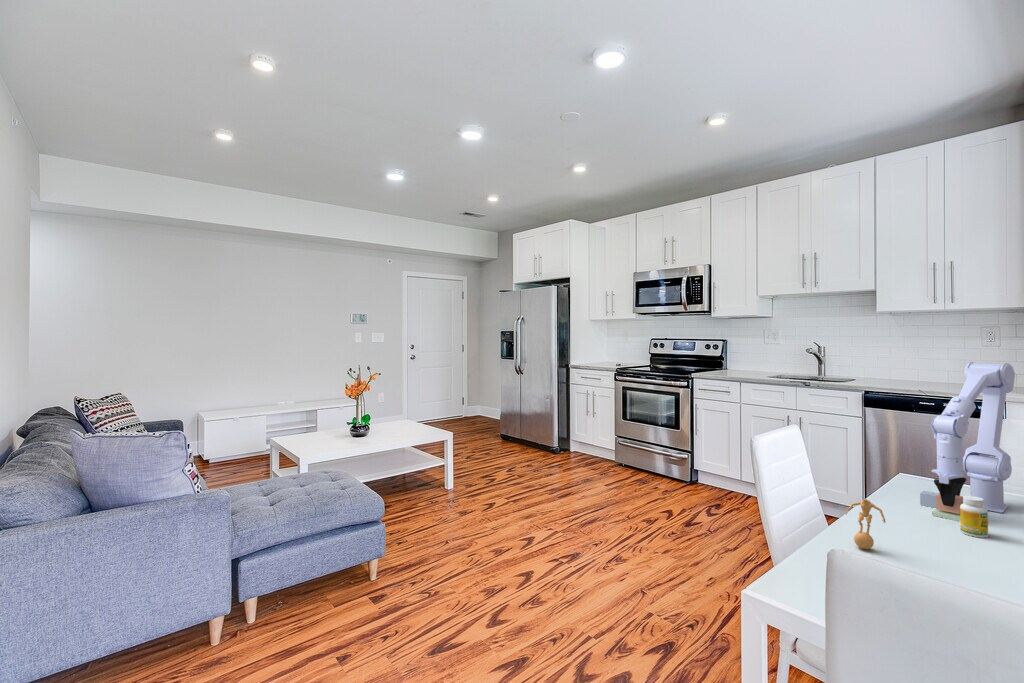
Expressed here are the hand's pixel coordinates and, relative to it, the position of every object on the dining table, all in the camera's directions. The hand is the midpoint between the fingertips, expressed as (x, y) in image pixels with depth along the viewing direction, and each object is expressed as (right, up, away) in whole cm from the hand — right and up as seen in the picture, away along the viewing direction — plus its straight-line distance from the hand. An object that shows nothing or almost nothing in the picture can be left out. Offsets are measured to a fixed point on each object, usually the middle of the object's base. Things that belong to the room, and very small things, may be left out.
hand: (950, 503), depth 142 cm
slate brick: (+2, -4, +9) cm, 10 cm away
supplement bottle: (-6, -4, -13) cm, 15 cm away
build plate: (0, -4, 0) cm, 4 cm away
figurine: (-39, -5, -20) cm, 44 cm away
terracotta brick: (0, -2, 0) cm, 2 cm away
